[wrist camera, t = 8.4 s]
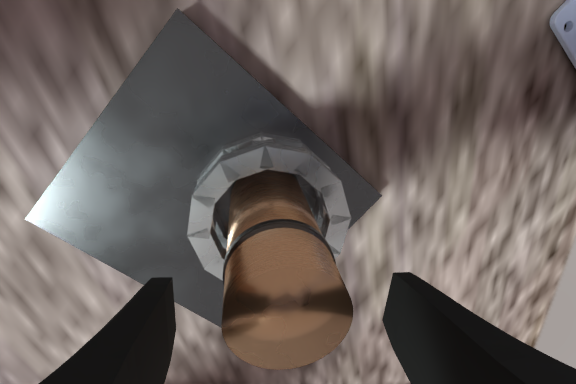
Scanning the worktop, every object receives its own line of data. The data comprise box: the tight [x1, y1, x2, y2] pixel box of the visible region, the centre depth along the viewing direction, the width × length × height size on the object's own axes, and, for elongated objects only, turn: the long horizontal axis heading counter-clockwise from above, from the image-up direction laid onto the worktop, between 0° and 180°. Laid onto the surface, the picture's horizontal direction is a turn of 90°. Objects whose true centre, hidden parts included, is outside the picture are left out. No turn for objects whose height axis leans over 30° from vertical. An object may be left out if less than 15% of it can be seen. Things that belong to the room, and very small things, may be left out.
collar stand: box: [25, 8, 382, 328], centre depth 17 cm, size 14×13×4 cm
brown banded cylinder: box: [221, 169, 353, 370], centre depth 14 cm, size 4×4×9 cm
